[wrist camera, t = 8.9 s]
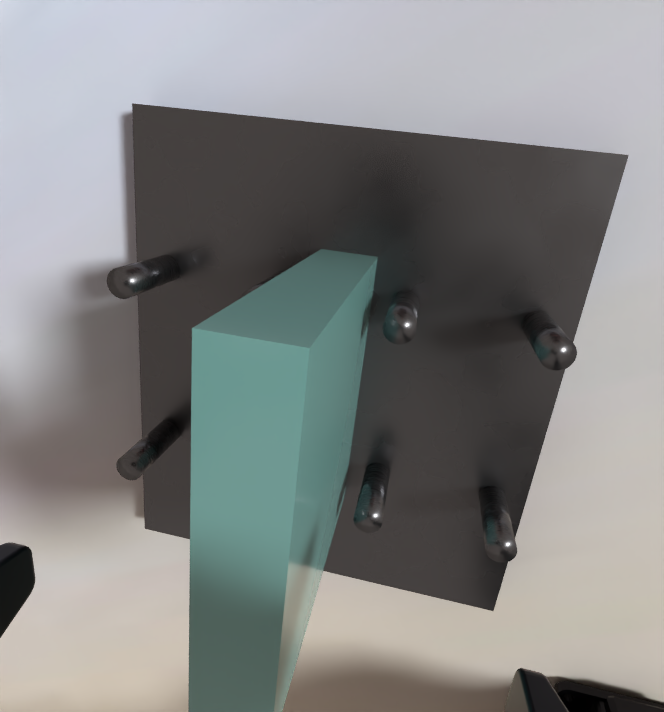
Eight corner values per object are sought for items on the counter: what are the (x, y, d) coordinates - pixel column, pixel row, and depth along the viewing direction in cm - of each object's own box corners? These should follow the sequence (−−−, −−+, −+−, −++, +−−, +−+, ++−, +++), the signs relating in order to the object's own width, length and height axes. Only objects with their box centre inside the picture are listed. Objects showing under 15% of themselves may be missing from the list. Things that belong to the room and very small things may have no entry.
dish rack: (490, 592, 22) (502, 676, 18) (155, 515, 24) (105, 575, 21) (617, 156, 16) (673, 149, 12) (147, 107, 18) (73, 89, 14)
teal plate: (344, 497, 21) (269, 755, 11) (297, 488, 21) (188, 731, 12) (377, 256, 17) (309, 348, 8) (321, 248, 17) (191, 328, 8)
